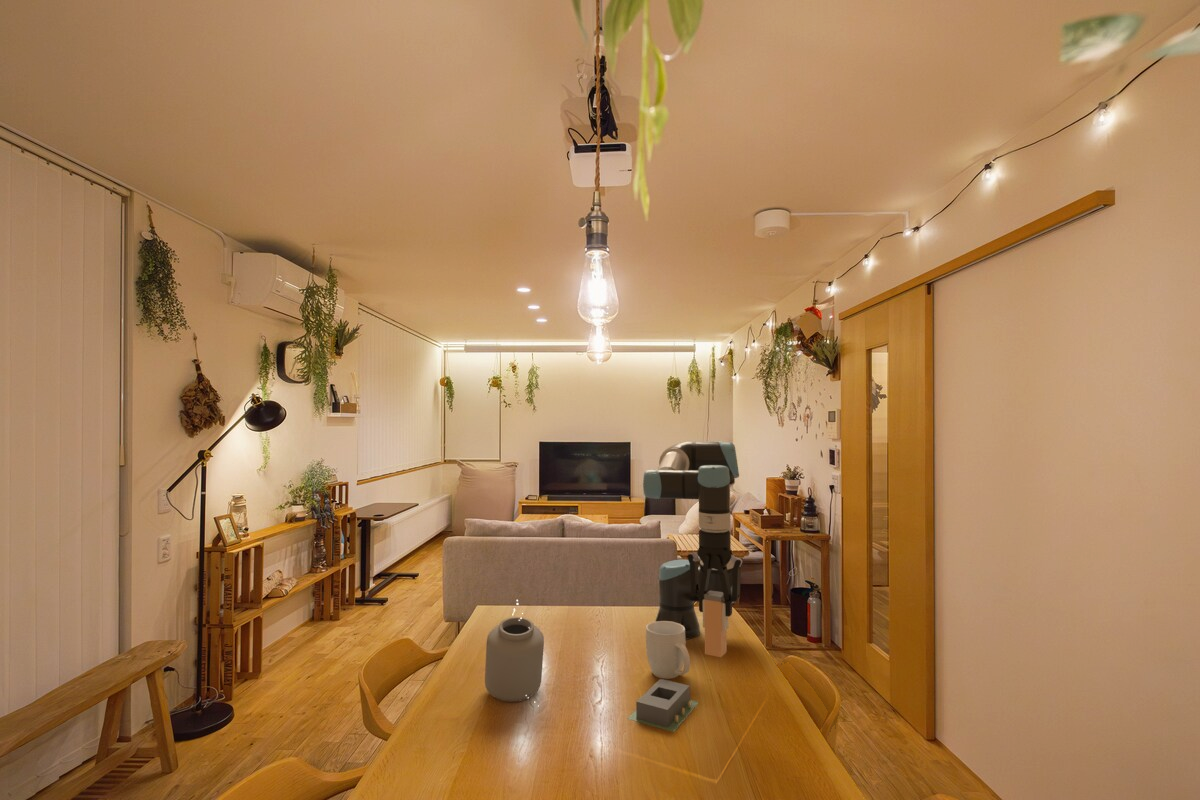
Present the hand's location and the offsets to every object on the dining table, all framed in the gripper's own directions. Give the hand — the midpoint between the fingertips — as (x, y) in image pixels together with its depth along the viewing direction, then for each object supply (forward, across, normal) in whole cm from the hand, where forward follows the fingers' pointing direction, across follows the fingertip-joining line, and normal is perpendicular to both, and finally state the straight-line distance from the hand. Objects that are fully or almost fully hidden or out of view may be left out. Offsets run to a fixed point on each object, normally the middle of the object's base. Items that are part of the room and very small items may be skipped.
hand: (715, 627), depth 138 cm
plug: (+6, 0, 0) cm, 6 cm away
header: (+21, -12, -4) cm, 25 cm away
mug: (+21, -19, +15) cm, 32 cm away
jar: (+21, -49, -15) cm, 56 cm away
